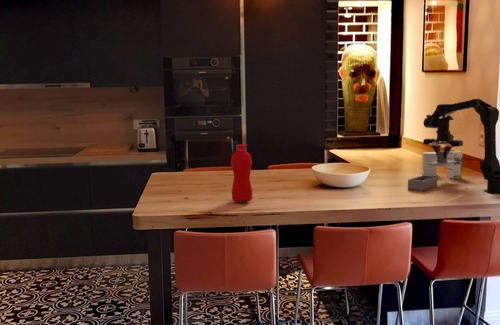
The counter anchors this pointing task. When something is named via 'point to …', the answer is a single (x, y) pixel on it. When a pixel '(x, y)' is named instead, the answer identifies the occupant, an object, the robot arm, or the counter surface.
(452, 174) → the syrup box
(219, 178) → the counter surface
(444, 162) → the lid
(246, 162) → the water bottle
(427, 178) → the tub
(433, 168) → the supplement box
